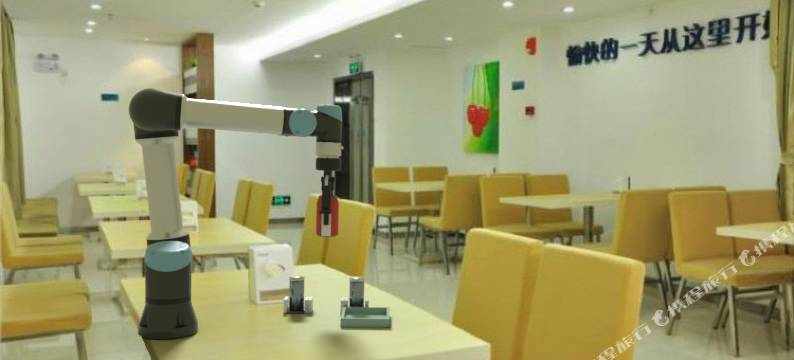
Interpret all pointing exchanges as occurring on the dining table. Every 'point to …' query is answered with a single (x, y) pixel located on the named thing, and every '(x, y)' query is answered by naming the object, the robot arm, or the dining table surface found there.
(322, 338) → the dining table surface
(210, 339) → the dining table surface
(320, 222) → the beer can
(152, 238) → the robot arm
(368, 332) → the dining table surface
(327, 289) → the dining table surface
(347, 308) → the tray
